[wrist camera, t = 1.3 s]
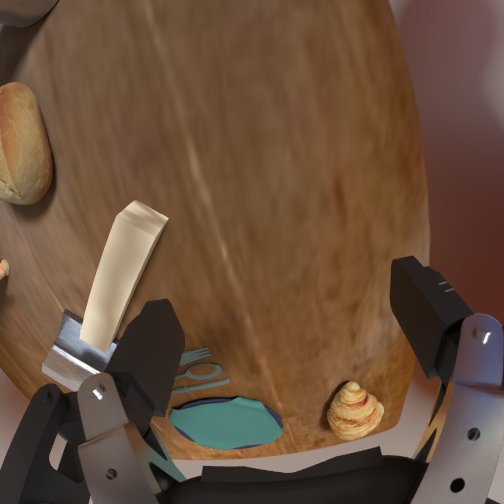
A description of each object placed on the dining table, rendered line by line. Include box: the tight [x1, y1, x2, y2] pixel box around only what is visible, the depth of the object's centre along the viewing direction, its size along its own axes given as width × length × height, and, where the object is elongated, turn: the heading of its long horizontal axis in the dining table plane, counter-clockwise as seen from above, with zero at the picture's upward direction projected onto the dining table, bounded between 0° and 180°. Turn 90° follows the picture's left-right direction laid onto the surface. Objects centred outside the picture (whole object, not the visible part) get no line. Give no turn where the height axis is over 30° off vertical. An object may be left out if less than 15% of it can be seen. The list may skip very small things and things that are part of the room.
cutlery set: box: [169, 348, 284, 450], centre depth 42 cm, size 20×30×2 cm, turn 22°
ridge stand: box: [42, 309, 120, 392], centre depth 32 cm, size 10×10×8 cm
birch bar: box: [79, 200, 169, 354], centre depth 28 cm, size 4×18×5 cm, turn 148°
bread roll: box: [0, 82, 53, 205], centre depth 19 cm, size 10×15×8 cm, turn 15°
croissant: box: [327, 381, 384, 441], centre depth 42 cm, size 21×10×8 cm, turn 21°
